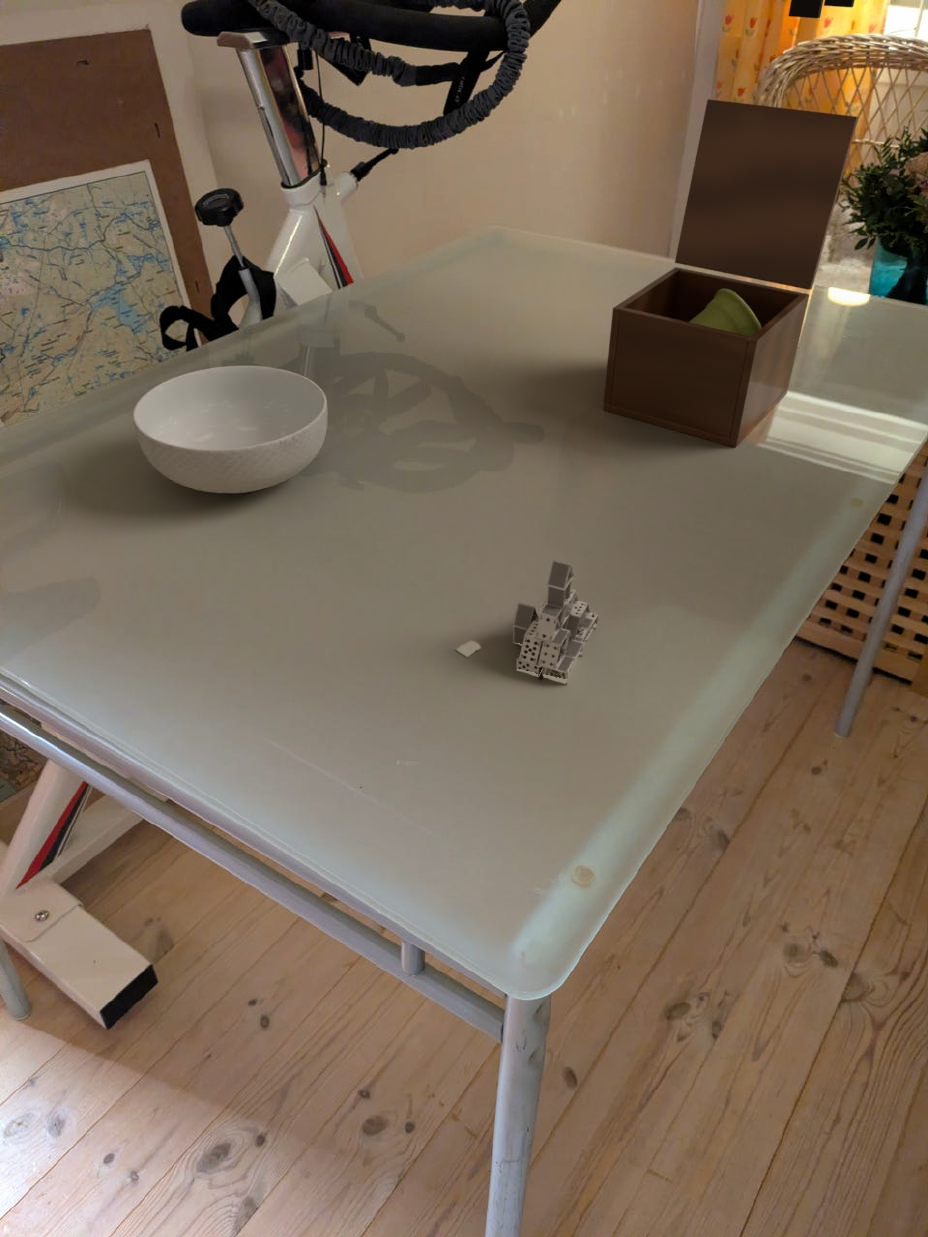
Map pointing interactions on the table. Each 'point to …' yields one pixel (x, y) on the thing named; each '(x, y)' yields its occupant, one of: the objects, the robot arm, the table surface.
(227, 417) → the cereal bowl
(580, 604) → the house of cards
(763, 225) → the chest lid
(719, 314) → the plant pot
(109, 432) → the table surface
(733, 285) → the chest
